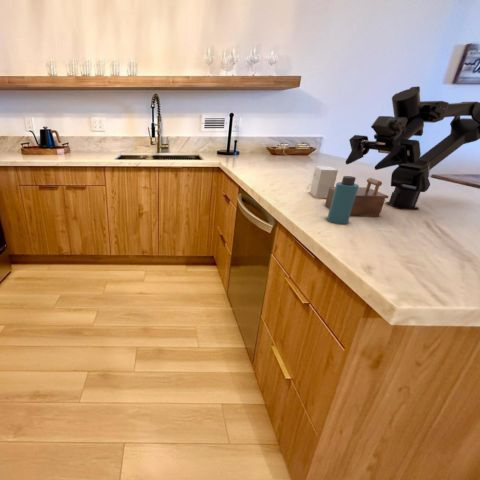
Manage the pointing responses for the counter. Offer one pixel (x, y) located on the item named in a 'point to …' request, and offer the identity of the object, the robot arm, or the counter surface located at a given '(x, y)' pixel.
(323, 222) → the counter surface
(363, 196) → the chest lid
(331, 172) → the small box
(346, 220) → the detergent bottle
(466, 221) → the counter surface
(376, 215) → the chest
